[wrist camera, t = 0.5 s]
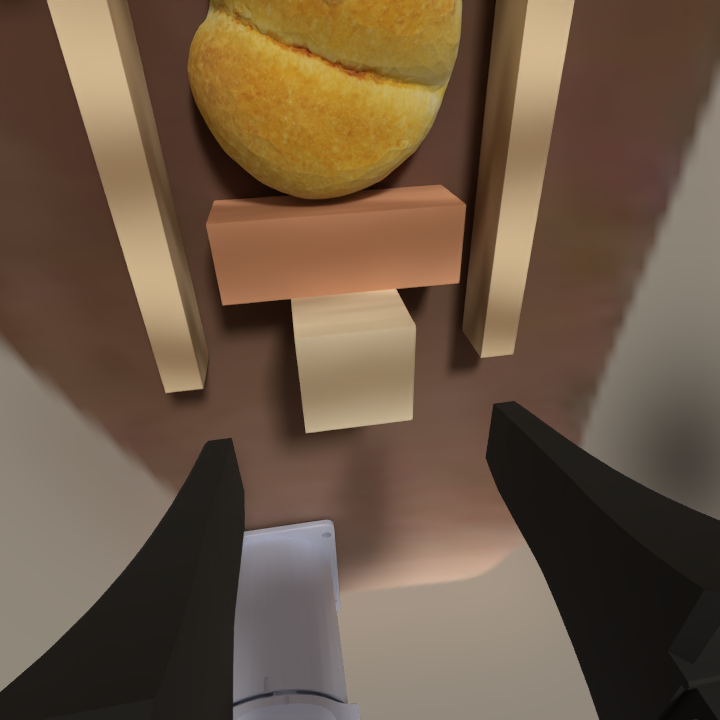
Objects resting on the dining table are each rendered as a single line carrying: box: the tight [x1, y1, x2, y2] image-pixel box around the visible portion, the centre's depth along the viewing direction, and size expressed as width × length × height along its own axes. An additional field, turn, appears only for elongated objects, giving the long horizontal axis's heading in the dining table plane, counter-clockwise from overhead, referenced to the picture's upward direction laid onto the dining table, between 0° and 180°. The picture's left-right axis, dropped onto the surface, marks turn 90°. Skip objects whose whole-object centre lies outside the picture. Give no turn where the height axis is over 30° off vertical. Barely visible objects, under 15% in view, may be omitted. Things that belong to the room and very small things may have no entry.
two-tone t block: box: [206, 185, 466, 433], centre depth 19 cm, size 7×9×6 cm
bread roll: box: [188, 0, 462, 199], centre depth 15 cm, size 8×9×4 cm
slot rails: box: [47, 0, 575, 393], centre depth 18 cm, size 16×15×2 cm
